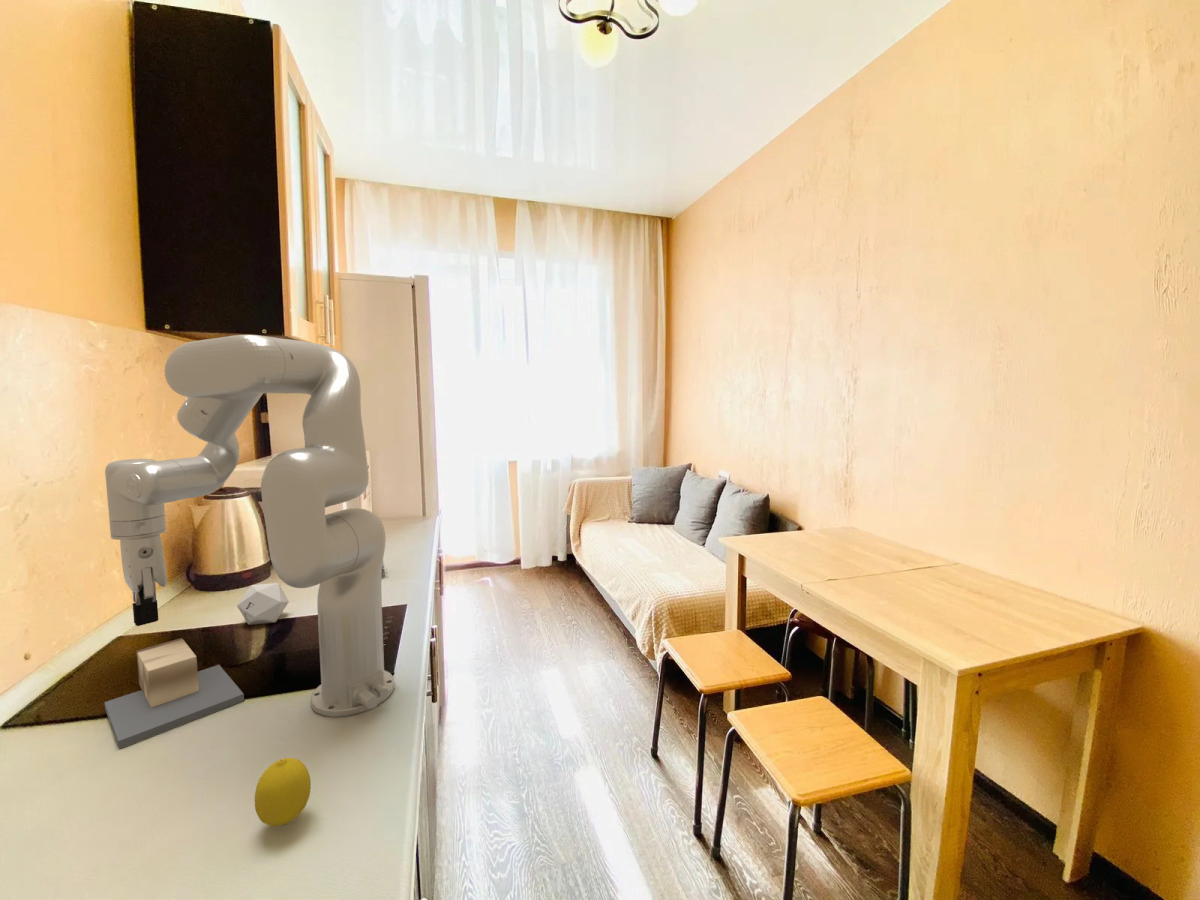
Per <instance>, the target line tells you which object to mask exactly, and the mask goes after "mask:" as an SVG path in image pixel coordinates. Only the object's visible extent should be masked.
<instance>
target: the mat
mask: <svg viewBox="0 0 1200 900" xmlns="http://www.w3.org/2000/svg"><path fill="white" fill-rule="evenodd" d="M197 671H198V670H197ZM198 684H199V691H197V692H194V693H191V694H189V695H186V696H183V697H180V698H177V699H174V700H172V701H169V702H166V703H163V704H160V705H157V706H155V707H152V708H151V706H150V704H149V702H148V700H147V699H146V697H145V695H144V693H143V691H142V689H141V690H137V691H135V692H131V693H128V694H125V695H122V696H119V697H116V698H114V699H110V700H108V701H105V702H104V710H105V713H106V715H107V718H108V721H109V724H110V728H111V730H112V732H113V735H114V738H115V741H116V744H117V746H118V749H119V750H121V749H123V748H125V747H128V746H131V745H133V744H136V743H138V742H140V741H144V740H146V739H148V738H149V739H150V738H152V737H154V736H156V735H159V734H162V733H164V732H167V731H169V730H173V729H174V728H177V727H180V726H183V725H186V724H188V723H190V722H193V721H195V720H198V719H200V718H201V719H202V718H204V717H206V716H208V715H211V714H214V713H216V712H219V711H221V710H224V709H226V708H229V707H231V706H232V707H233V706H235V705H238V704H240V703H242V702H244V701H245V695H244V692H243V691H242V690H241V688H240V687H239V686H238V685H237V684H236V683H235V682H234V680H233V679H232V678H231V677H230V676H229V674H228V673H227V672H226V671H225V670H224V669H223V667H222V666H221V665H220V664H217V665H214V666H210V667H207V668H205V669H204V668H203V669H202V670H199V671H198Z"/></svg>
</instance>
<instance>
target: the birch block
mask: <svg viewBox="0 0 1200 900" xmlns="http://www.w3.org/2000/svg"><path fill="white" fill-rule="evenodd" d="M135 653H136V661H137V663H136V664H137V674H138V684H139V687H140V689H141V690H142V691H143V693H144V695H145V697H146V699H147V700H148V702H149V704H150V706H151V708H152V707H155V706H157V705H160V704H163V703H166V702H169V701H172V700H174V699H177V698H180V697H183V696H186V695H189V694H191V693H194V692H197V691H199V684H198V660H197V655H196V654H195V653H194V651H193V650H192V649H191V648H190V646H189V645H188V644H187V643H186V641H185V640H184V639H183V637H180V638H177V639H174V640H169V641H166V642H163V643H160V644H155V645H152V646H147V647H144V648H141V649H139V650H136V652H135Z"/></svg>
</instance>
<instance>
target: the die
mask: <svg viewBox="0 0 1200 900" xmlns="http://www.w3.org/2000/svg"><path fill="white" fill-rule="evenodd" d="M289 603H290V600H289V599H288V597H287V596H286V593H285V591H284V590H283V588H282V587H281V585H280V583H279V582H274V583H263V584H262V583H259V584H252V585H250V587H249V588H248V590H247V591H246V593H245V594H244V595H243V596H242V597H241V598H240V600H239V602H238V603H237V605H236V607H237V608H238V610H239V612H240V613H241V615H242V617H243V619H244V620H245V621H246V623H247V625H249V626H250V625H263V624H272V623H276V622H277V621H278V619H279V617H280V616H281V615H282V613H283V611H284V610H285V609H286V607H287V606H288V604H289Z"/></svg>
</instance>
